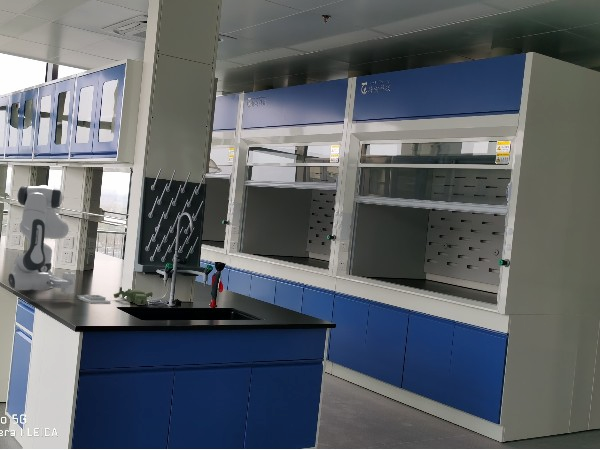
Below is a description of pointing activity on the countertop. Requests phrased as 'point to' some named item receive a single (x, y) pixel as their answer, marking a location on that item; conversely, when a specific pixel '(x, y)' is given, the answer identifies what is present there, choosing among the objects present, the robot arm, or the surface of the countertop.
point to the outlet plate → (94, 299)
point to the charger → (69, 277)
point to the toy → (134, 296)
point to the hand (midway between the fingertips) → (69, 281)
